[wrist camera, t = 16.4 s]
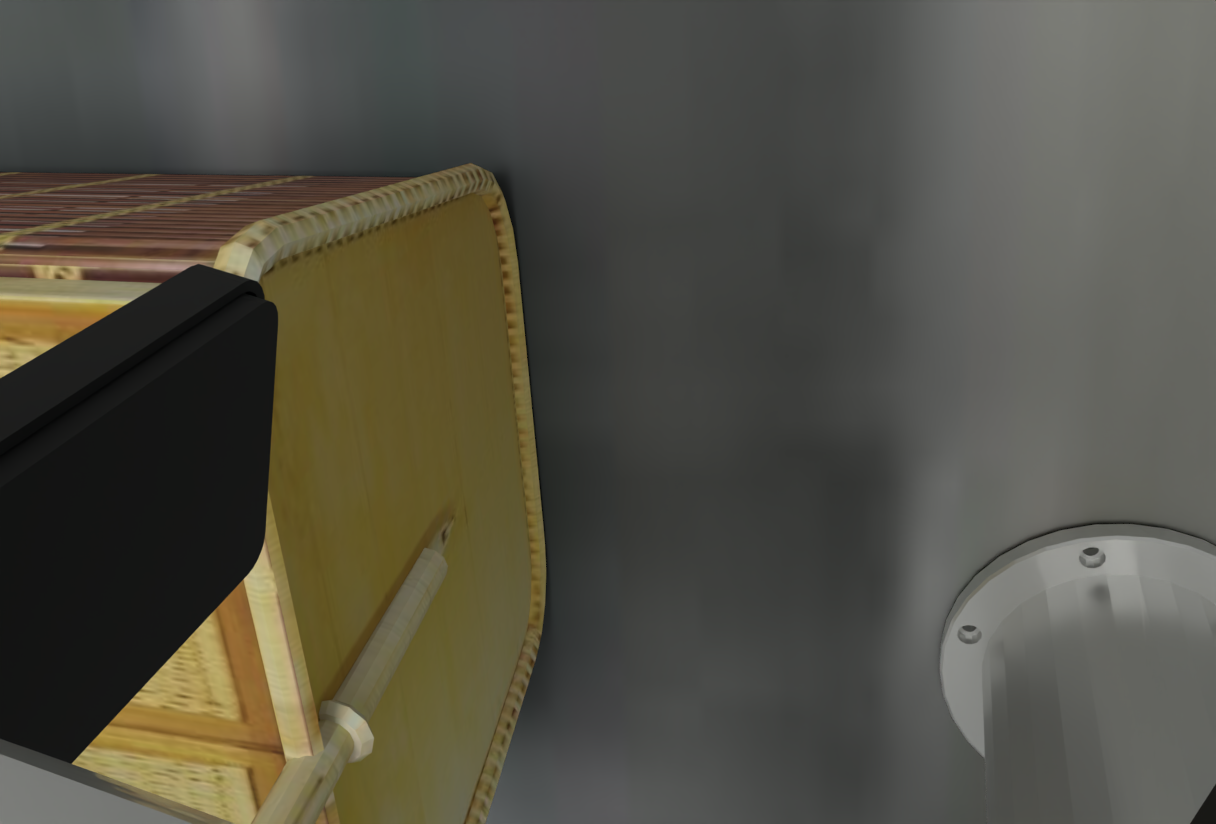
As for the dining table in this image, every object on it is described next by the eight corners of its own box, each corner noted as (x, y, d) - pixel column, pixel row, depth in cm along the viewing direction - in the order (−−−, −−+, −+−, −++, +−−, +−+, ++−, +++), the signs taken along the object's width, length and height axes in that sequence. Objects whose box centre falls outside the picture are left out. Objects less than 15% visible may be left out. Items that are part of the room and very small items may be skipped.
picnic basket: (46, 603, 59) (-671, 1223, 33) (-126, 78, 47) (-1431, 393, 21) (606, 672, 51) (252, 1546, 25) (562, 69, 40) (-163, 536, 14)
